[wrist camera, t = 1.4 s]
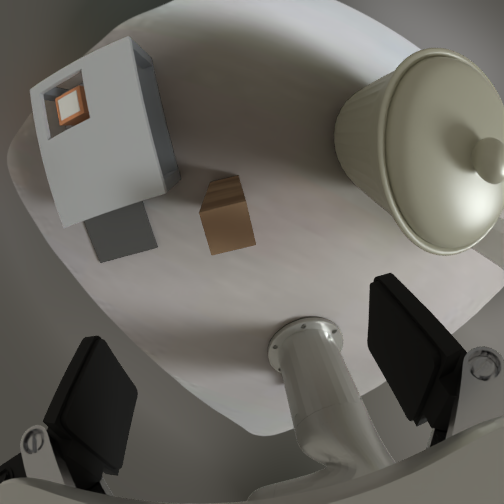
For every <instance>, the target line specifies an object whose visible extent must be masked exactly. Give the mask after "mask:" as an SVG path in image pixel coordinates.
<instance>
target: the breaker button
mask: <svg viewBox="0 0 504 504" xmlns="http://www.w3.org/2000/svg"><path fill="white" fill-rule="evenodd" d="M55 101H56V107H57V113H58V118H59V123H60V126H62V125H77V124H79V123H81V122H83V121H85V120H87V119H89V118H90V115H89V110H88V105H87V100H86V95H85V89H84V86H80V85H79V86H77V87H75V88H73V89H71V90H70V91H68V92H66V93H64V94H63V95H61V96H59V97H57V98H56V99H55Z"/></svg>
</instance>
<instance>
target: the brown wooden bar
mask: <svg viewBox="0 0 504 504" xmlns="http://www.w3.org/2000/svg"><path fill="white" fill-rule="evenodd" d="M199 214H200V218H201V221H202V225H203V228H204V231H205V235H206V238H207V242H208V245H209V248H210V252H211V255H216V254H220V253H224V252H228V251H232V250H236V249H241V248H245V247H249V246H253V245H256V242H255V238H254V233H253V229H252V225H251V221H250V216H249V212H248V208H247V204H246V200H245V196H244V193H243V189H242V186H241V183H240V179H239V176H238V175H237V176H233V177H229V178H225V179H221V180H217V181H213V182H210V184H209V187H208V190H207V192H206V195H205V198H204V200H203V203H202V206H201V209H200V212H199Z"/></svg>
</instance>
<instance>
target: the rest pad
mask: <svg viewBox="0 0 504 504" xmlns="http://www.w3.org/2000/svg"><path fill="white" fill-rule="evenodd" d="M84 223H85V225H86V228H87V231H88V233H89V236H90V239H91V241H92V244H93V246H94V249H95V251H96V254H97V256H98V258H99V261H100V263H103V262H106V261H110V260H114V259H117V258H121V257H124V256H128V255H132V254H135V253H139V252H143V251H147V250H150V249H154V248H157V247H158V246H157V243H156V240H155V237H154V235H153V232H152V229H151V226H150V223H149V220H148V217H147V214H146V211H145V208H144V204H143V201H140V202H137V203H133V204H130V205H127V206H124V207H121V208H118V209H115V210H112V211H110V212H107V213H104V214H101V215H98V216H95V217H93V218H90V219H87V220H84Z"/></svg>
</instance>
